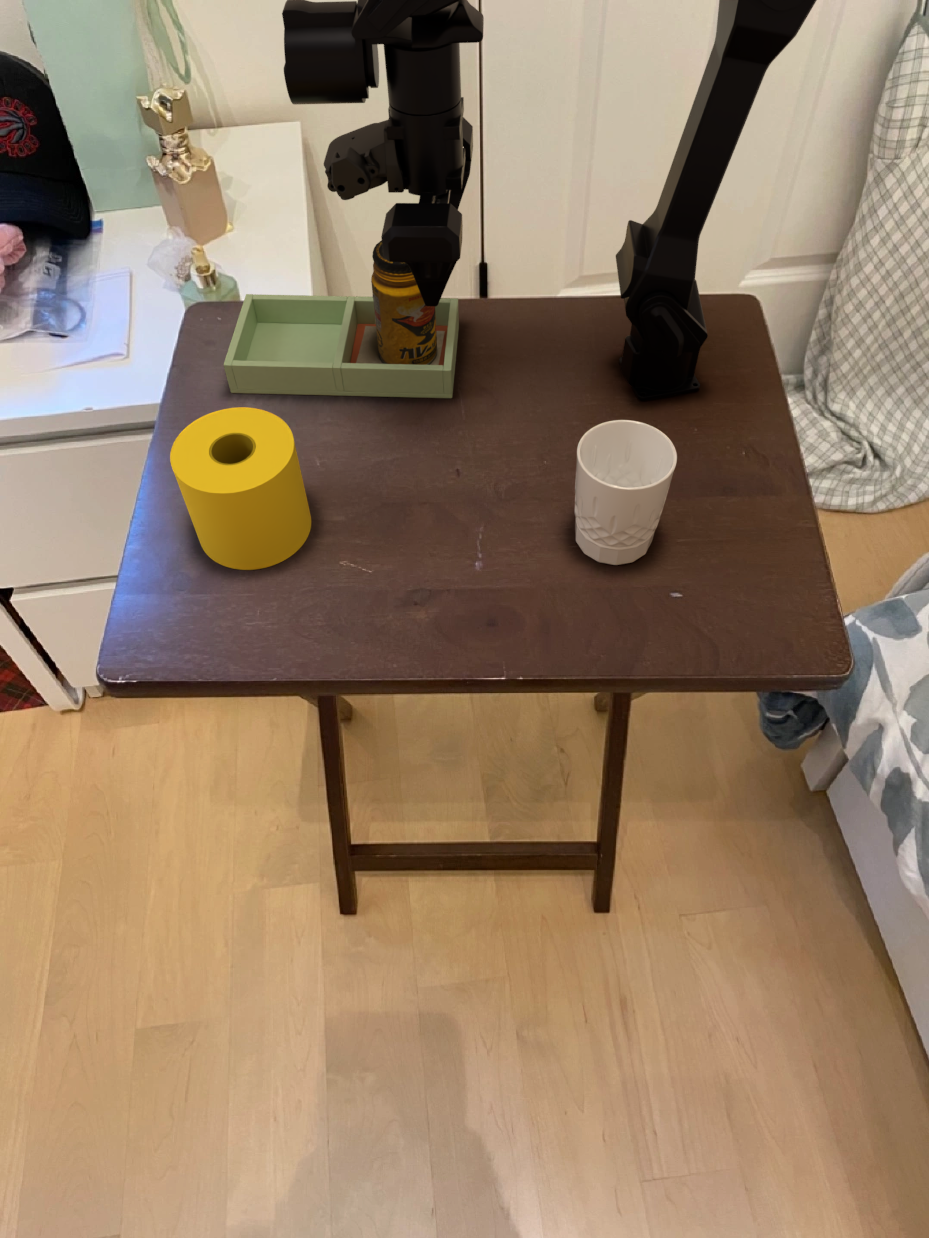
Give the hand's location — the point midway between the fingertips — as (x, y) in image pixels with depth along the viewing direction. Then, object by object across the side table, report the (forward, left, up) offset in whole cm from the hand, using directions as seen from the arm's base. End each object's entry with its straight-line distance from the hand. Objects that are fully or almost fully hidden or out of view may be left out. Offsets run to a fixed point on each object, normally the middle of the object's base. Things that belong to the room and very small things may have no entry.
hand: (435, 275), depth 86 cm
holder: (+9, -5, -12) cm, 15 cm away
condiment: (+3, -4, -11) cm, 12 cm away
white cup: (-10, +25, -12) cm, 29 cm away
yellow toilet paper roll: (+21, +16, -12) cm, 29 cm away
